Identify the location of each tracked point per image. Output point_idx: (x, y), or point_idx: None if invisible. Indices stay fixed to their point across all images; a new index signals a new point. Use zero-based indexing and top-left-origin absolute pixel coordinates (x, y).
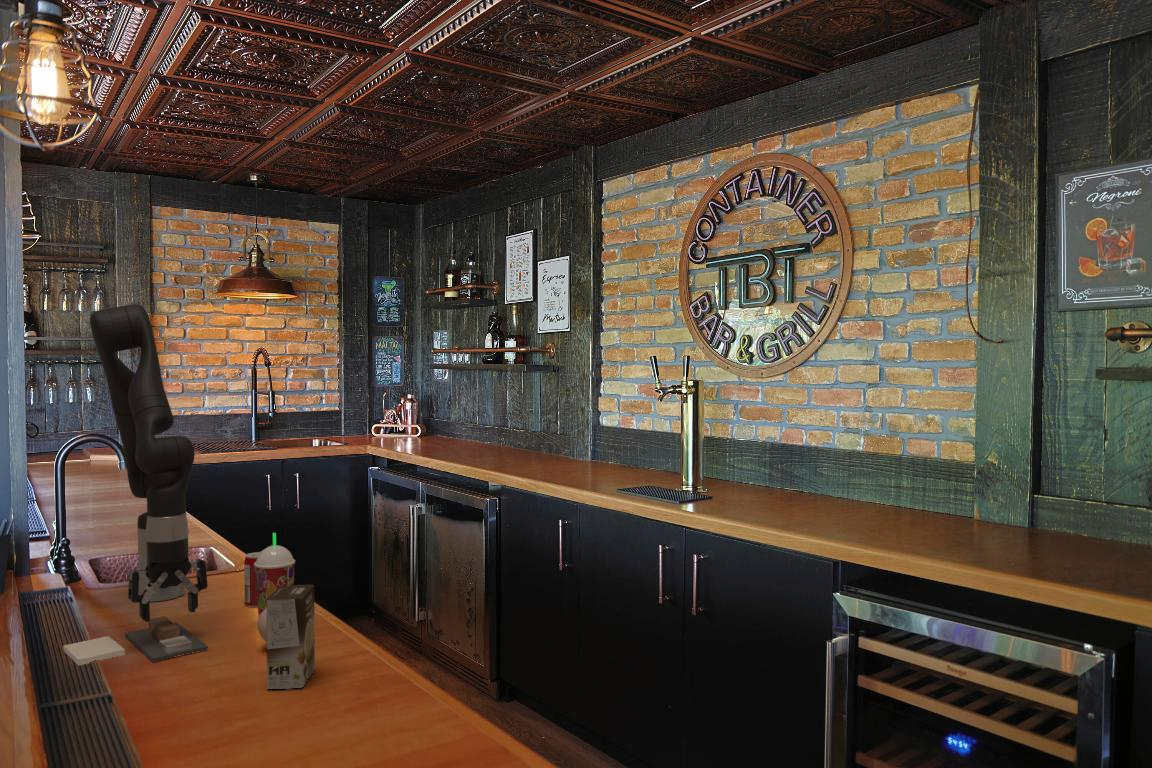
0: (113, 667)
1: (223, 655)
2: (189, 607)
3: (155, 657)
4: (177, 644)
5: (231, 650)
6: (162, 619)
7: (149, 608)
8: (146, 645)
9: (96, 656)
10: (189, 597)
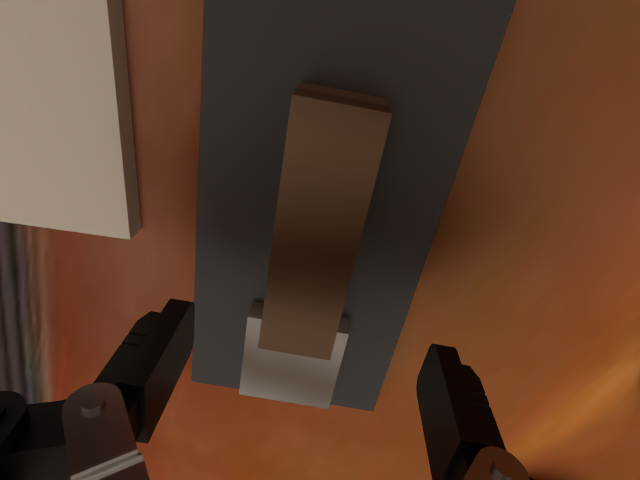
0: (81, 315)
1: (373, 456)
2: (431, 374)
3: (200, 379)
4: (279, 395)
5: (415, 443)
6: (345, 174)
7: (162, 411)
8: (221, 246)
9: (18, 222)
10: (443, 437)
